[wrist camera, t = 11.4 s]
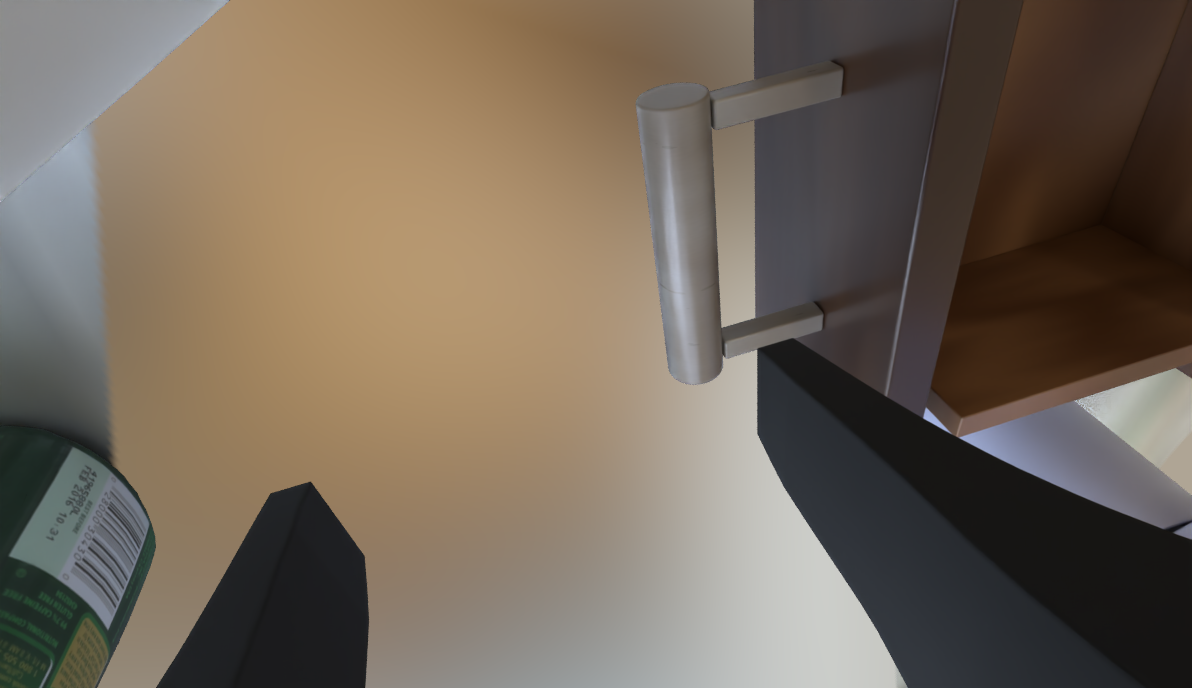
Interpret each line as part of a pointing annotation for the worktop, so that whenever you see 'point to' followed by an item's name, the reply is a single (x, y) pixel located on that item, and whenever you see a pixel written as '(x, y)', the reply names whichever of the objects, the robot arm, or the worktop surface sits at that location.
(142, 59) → the cylindrical container
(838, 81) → the drawer
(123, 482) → the coffee jar
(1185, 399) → the worktop surface
